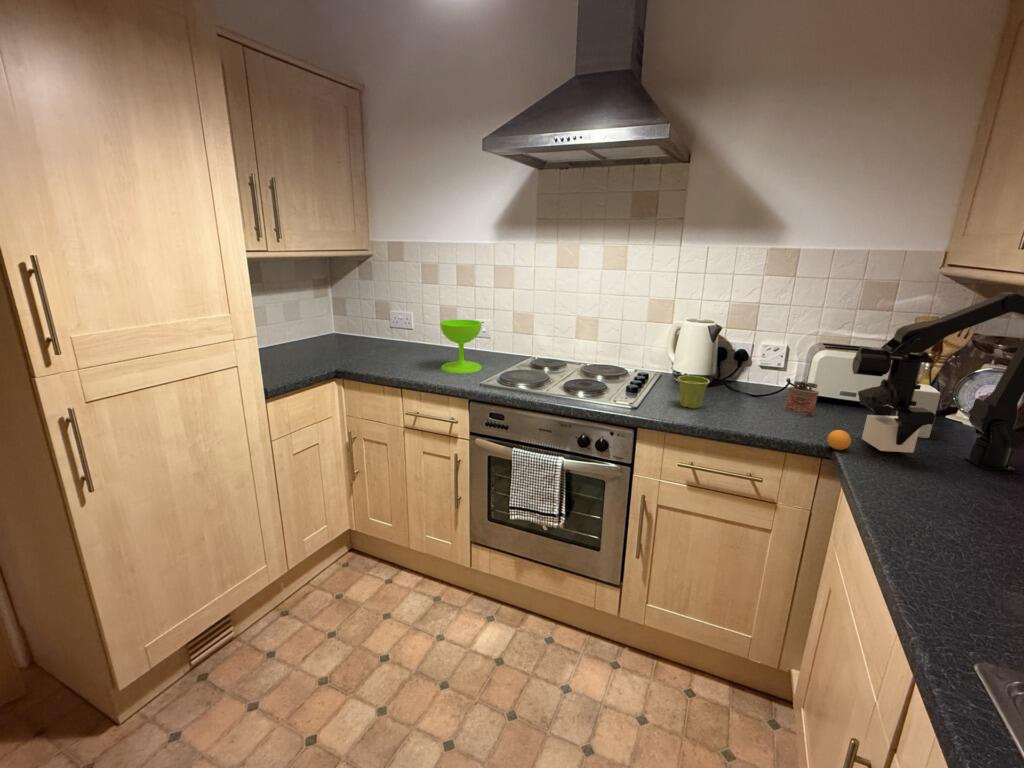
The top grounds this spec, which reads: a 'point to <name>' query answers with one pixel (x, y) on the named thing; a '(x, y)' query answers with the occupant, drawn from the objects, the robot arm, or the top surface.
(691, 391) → the plant pot
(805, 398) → the lighter
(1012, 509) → the top surface
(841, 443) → the ball
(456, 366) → the wineglass
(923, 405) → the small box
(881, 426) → the cream cube
